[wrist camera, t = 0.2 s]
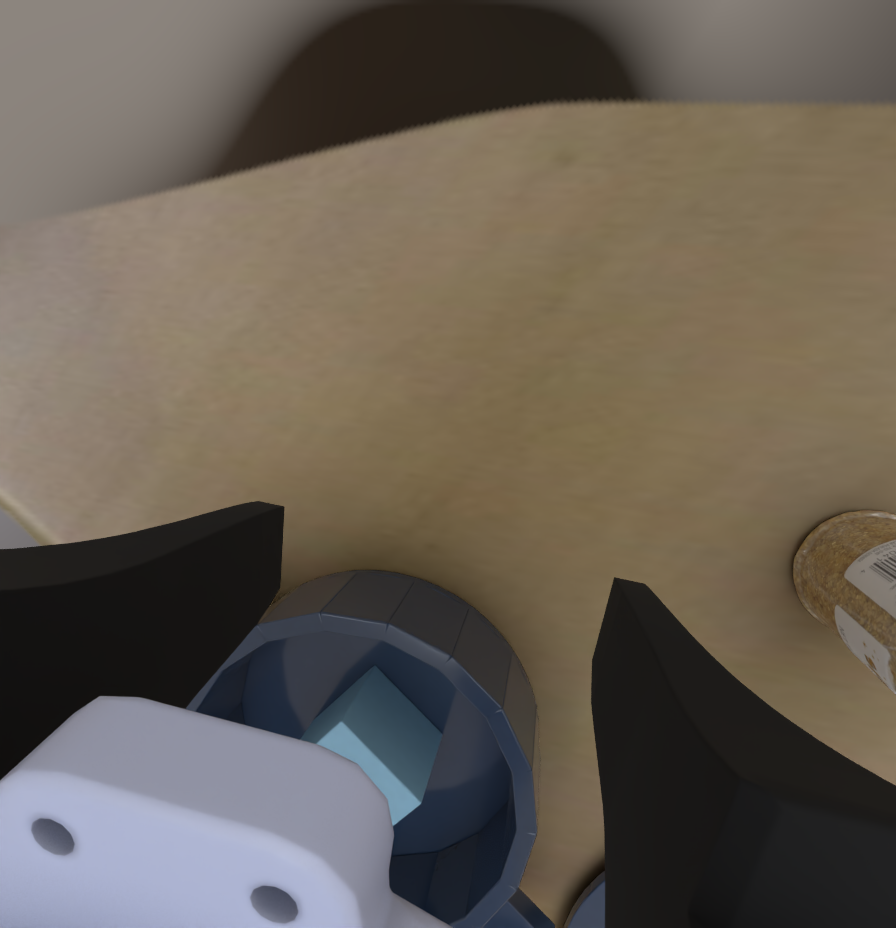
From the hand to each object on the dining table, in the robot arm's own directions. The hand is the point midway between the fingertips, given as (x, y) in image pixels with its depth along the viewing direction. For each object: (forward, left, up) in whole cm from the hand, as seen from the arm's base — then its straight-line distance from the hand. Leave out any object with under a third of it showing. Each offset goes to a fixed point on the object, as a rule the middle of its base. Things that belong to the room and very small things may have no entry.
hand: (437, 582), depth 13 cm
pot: (-11, -4, -11) cm, 16 cm away
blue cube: (-11, -4, -10) cm, 15 cm away
